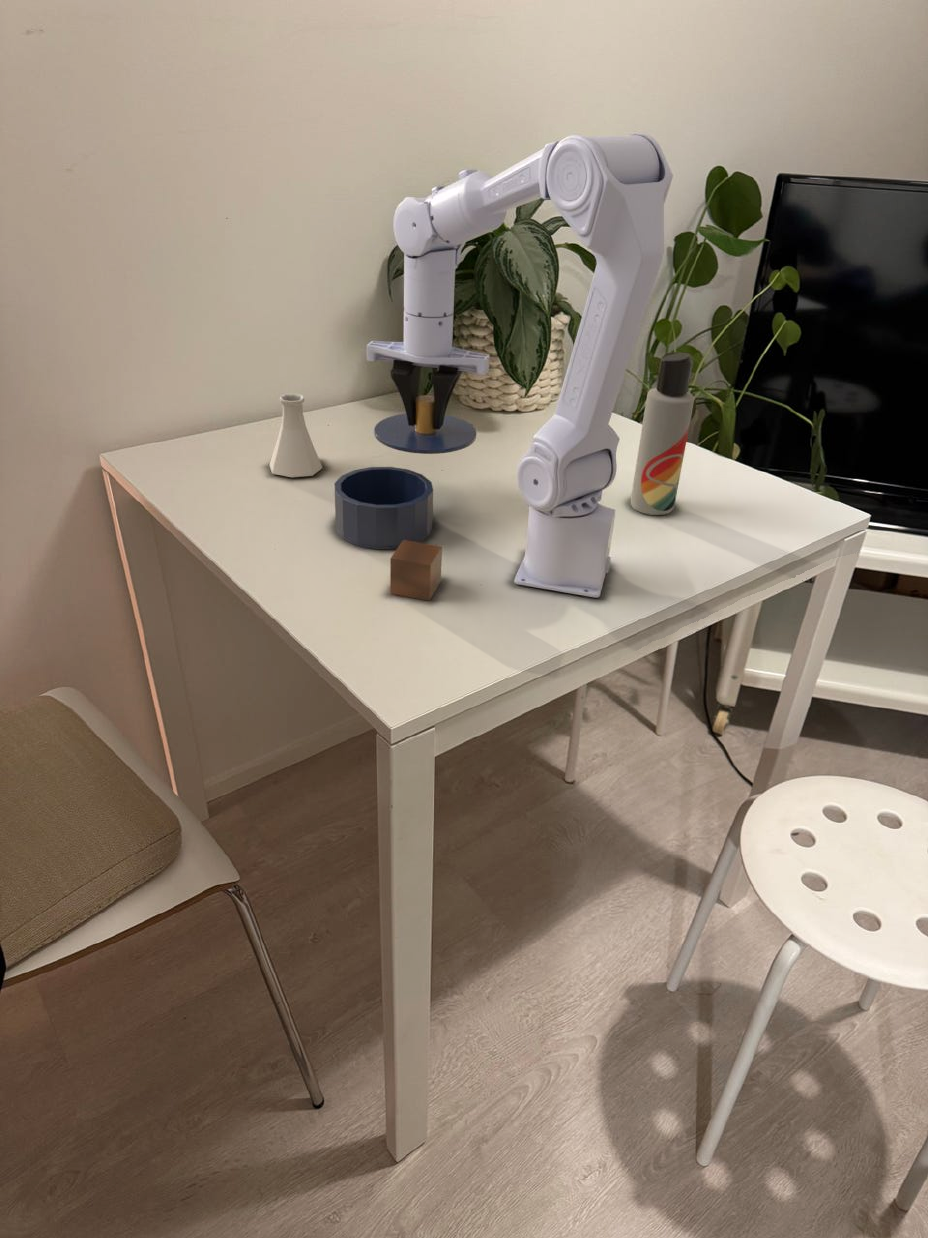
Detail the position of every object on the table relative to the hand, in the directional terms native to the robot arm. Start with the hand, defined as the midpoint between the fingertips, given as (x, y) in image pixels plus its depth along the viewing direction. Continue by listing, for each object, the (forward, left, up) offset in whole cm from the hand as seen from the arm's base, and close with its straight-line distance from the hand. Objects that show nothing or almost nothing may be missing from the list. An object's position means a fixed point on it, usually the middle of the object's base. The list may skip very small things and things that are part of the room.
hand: (425, 424), depth 111 cm
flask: (+20, -4, -11) cm, 23 cm away
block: (-5, +21, -10) cm, 24 cm away
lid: (0, 0, -1) cm, 1 cm away
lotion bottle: (-28, -9, -11) cm, 32 cm away
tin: (+3, +8, -10) cm, 14 cm away
